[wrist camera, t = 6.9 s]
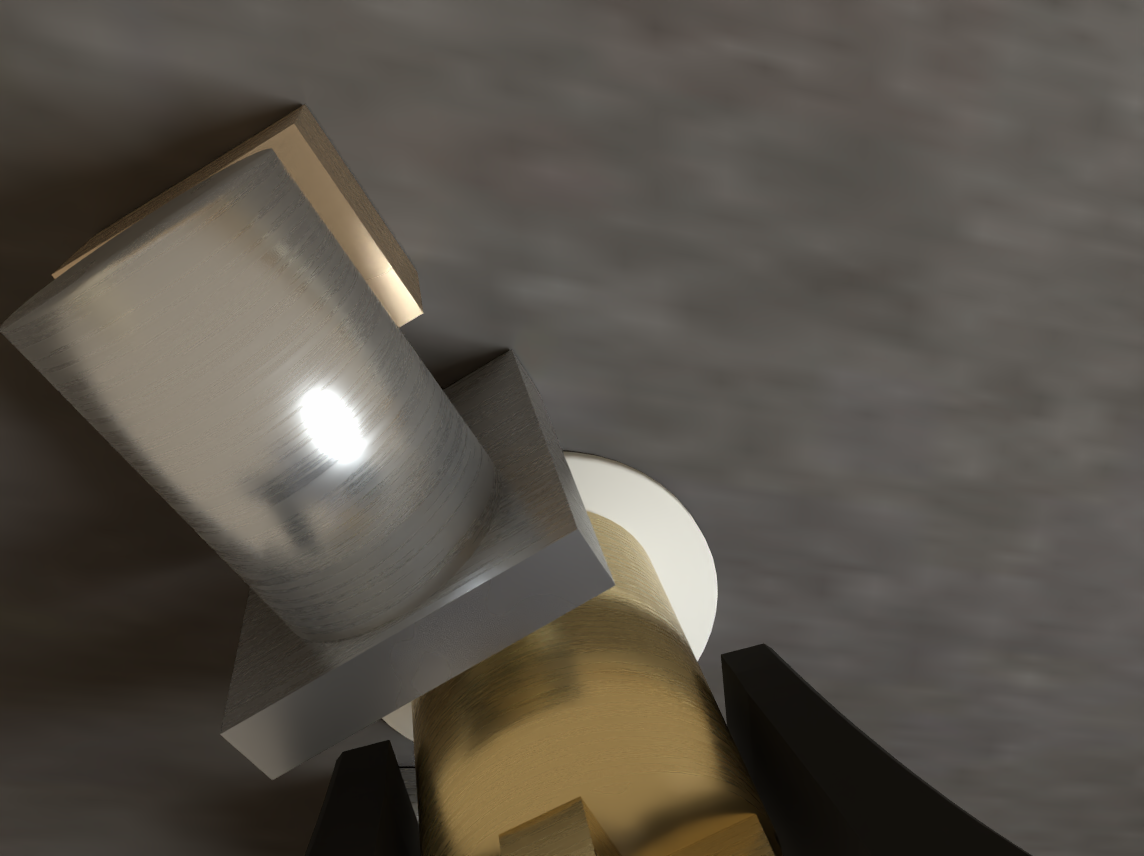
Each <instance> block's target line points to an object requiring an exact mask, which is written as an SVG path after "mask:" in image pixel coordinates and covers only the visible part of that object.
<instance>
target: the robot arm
mask: <svg viewBox="0 0 1144 856" xmlns="http://www.w3.org/2000/svg"><path fill="white" fill-rule="evenodd" d="M721 661H722V673H723V684H724V695H725V707H726V718H727V727H728V729H729V732H730V734H731V736H732V738H733V740H734V742H735V745H736V747H737V749H738V751H739V753H740V755H741V758H742V760H743V762H744V764H745V766H746V768H747V771H748V773H749V775H750V777H751V779H752V781H753V784H754V786H755V788H756V790H757V792H758V794H759V797H760V799H761V801H762V803H763V805H764V807H765V810H766V812H767V814H768V816H769V818H770V820H771V823H772V825H773V827H774V829H775V831H776V834H777V836H778V839H779V842H780V844H781V849H782V855H783V856H1032V855H1030V854H1029V853H1027V852H1026V851H1024V850H1023V849H1021V848H1019V847H1018V846H1016V845H1015V844H1013V843H1012V842H1010V841H1009V840H1007V839H1006V838H1004V837H1003V836H1001V835H1000V834H998V833H996V832H995V831H993V830H992V829H990V828H989V827H987V826H986V825H985V824H983V823H982V822H980V821H979V820H977V819H976V818H974V817H973V816H971V815H970V814H969V813H967V812H966V811H964V810H963V809H962V808H960V807H959V806H957V805H956V804H955V803H953V802H952V801H950V800H949V799H948V798H946V797H945V796H944V795H942V794H941V793H940V792H938V791H937V790H936V789H934V788H933V787H932V786H930V785H929V784H928V783H926V782H925V781H924V780H922V779H921V778H920V777H918V776H917V775H916V774H914V773H913V772H912V771H911V770H909V769H908V768H907V767H905V766H904V765H903V764H902V763H900V762H899V761H898V760H897V759H895V758H894V757H893V756H892V755H890V754H889V753H888V752H887V751H886V750H884V749H883V748H882V747H881V746H879V745H878V744H877V743H876V742H875V741H873V740H872V739H871V738H870V737H869V736H867V735H866V734H865V733H864V732H863V731H861V730H860V729H859V728H858V727H856V726H855V725H854V724H853V723H852V722H851V721H850V720H848V719H847V718H846V717H845V716H844V715H843V714H841V713H840V712H839V711H838V710H837V709H836V708H835V707H834V706H832V705H831V704H830V703H829V702H828V701H827V700H826V699H825V698H824V697H822V696H821V695H820V694H819V693H818V692H817V691H816V690H815V689H814V688H813V687H811V686H810V685H809V684H808V683H807V682H806V681H805V680H804V679H803V678H802V677H801V676H800V675H799V674H798V673H796V672H795V671H794V670H793V669H792V668H791V667H790V666H789V665H788V664H787V663H786V662H785V661H784V660H783V659H782V658H781V657H780V656H779V655H778V654H777V653H776V652H775V651H774V650H773V649H772V648H770V647H769V646H767V645H765V644H760V645H756V646H752V647H748V648H745V649H741V650H737V651H733V652H729V653H725V654H721ZM305 856H421V853H420V836H419V824H418V821H417V818H416V815H415V812H414V810H413V807H412V804H411V801H410V798H409V795H408V792H407V789H406V786H405V783H404V780H403V778H402V775H401V772H400V769H399V766H398V763H397V760H396V757H395V754H394V751H393V748H392V746H391V743H390V740H387V741H383V742H379V743H375V744H371V745H367V746H364V747H360V748H356V749H352V750H348V751H344V752H343V753H342V754H341V755H340V756H339V758H338V759H337V761H336V764H335V768H334V771H333V774H332V778H331V781H330V784H329V787H328V791H327V794H326V797H325V800H324V803H323V806H322V809H321V812H320V815H319V818H318V821H317V823H316V826H315V829H314V832H313V834H312V837H311V840H310V843H309V845H308V848H307V851H306V854H305Z"/></svg>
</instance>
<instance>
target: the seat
mask: <svg viewBox="0 0 1144 856" xmlns="http://www.w3.org/2000/svg"><path fill="white" fill-rule="evenodd" d="M563 453H564V456H565V458H566V461H567V463H568V466H569V468H570V471H571V474H572V476H573V479H574V481H575V484H576V486H577V489H578V491H579V494H580V496H581V499H582V501H583V504H584V506H585V509H586V511H588V512H592V513H595V514H598V515H600V516H603V517H605V518H607V519H609V520H611V521H613V522H615V523H616V524H618V525H620V526H621V527H623V528H624V529H625V530H627V531H628V532H629V533H630V534H631V535H632V536H634V537H635V539H636V540H637V541H638V542H639V543H640V544H641V545H642V547H643V548H644V550H645V551H646V553H647V555H648V556H649V558H650V560H651V562H652V564H653V567H654V569H655V571H656V573H657V575H658V577H659V580H660V582H661V584H662V586H663V588H664V590H665V593H666V595H667V597H668V599H669V601H670V603H671V606H672V608H673V610H674V612H675V614H676V616H677V619H678V621H679V623H680V625H681V627H682V629H683V632H684V634H685V636H686V638H687V640H688V643H689V645H690V647H691V649H692V651H693V653H694V656H695V658H696V660H697V661H698V660H699V658H700V656H701V654H702V652H703V651H704V648H705V646H706V643H707V641H708V638H709V636H710V633H711V630H712V626H713V622H714V618H715V614H716V606H717V596H718V591H717V575H716V571H715V566H714V562H713V557H712V554H711V552H710V550H709V547H708V545H707V542H706V540H705V538H704V536H703V534H702V533H701V531H700V529H699V528H698V526H697V524H696V523H695V521H694V519H693V518H692V516H691V515H690V513H689V511H688V510H687V509H686V508H685V507H684V506H683V505H682V503H681V502H680V501H679V500H678V499H677V498H676V496H674V495H673V494H672V493H671V492H670V491H668V490H667V489H666V488H665V487H664V486H663V485H661V484H660V483H659V482H657V481H656V480H654V479H652V478H651V477H649V476H647V475H646V474H644V473H643V472H641V471H639V470H637V469H634V468H632V467H630V466H627V465H625V464H623V463H620V462H618V461H614V460H610V459H607V458H603V457H600V456H596V455H590V454H583V453H577V452H564V451H563ZM382 719H383V720H384V721H385V722H386V723H387V724H388V725H390V726H391V727H392V728H394V729H395V730H396V731H398V732H399V733H400V734H402V735H403V736H405V737H406V738H408V739H410V740H412V741H414V738H413V722H412V705H411V702H409V703H407V704H406V705H404V706H402V707H400V708H399V709H397V710H395V711H393V712H392V713H390V714H388V715H386V716H385V717H383V718H382Z"/></svg>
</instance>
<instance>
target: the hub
mask: <svg viewBox="0 0 1144 856" xmlns="http://www.w3.org/2000/svg"><path fill="white" fill-rule="evenodd" d="M587 514H588V516H589V519H590V521H591V524H592V527H593V529H594V532H595V534H596V537H597V539H598V542H599V544H600V547H601V549H602V552H603V554H604V557H605V559H606V562H607V564H608V567H609V569H610V572H611V575H612V577H613V580H614V582H615V586H613V587H612V588H610V589H608V590H606V591H605V592H603V593H601V594H599V595H598V596H596V597H594V598H592V599H591V600H589V601H587V602H585V603H584V604H582V605H580V606H578V607H576V608H575V609H573V610H571V611H569V612H568V613H566V614H564V615H562V616H561V617H559V618H557V619H555V620H554V621H552V622H550V623H548V624H547V625H545V626H543V627H541V628H540V629H538V630H536V631H534V632H532V633H531V634H529V635H527V636H525V637H524V638H522V639H520V640H518V641H517V642H515V643H513V644H511V645H510V646H508V647H506V648H504V649H503V650H501V651H499V652H497V653H496V654H494V655H492V656H490V657H488V658H487V659H485V660H483V661H481V662H480V663H478V664H476V665H474V666H473V667H471V668H469V669H467V670H466V671H464V672H462V673H460V674H459V675H457V676H455V677H453V678H451V679H450V680H448V681H446V682H444V683H443V684H441V685H439V686H437V687H436V688H434V689H432V690H430V691H429V692H427V693H425V694H423V695H422V696H420V697H418V698H416V699H415V700H413V701H411V705H412V722H413V738H414V754H415V771H416V787H417V804H418V820H419V836H420V853H421V856H783V855H782V849H781V844H780V842H779V839H778V836H777V834H776V831H775V829H774V827H773V825H772V823H771V820H770V818H769V816H768V814H767V812H766V810H765V807H764V805H763V803H762V801H761V799H760V797H759V794H758V792H757V790H756V788H755V786H754V784H753V781H752V779H751V777H750V775H749V773H748V771H747V768H746V766H745V764H744V762H743V760H742V758H741V755H740V753H739V751H738V749H737V747H736V745H735V742H734V740H733V738H732V736H731V734H730V732H729V729H728V727H727V725H726V723H725V721H724V718H723V716H722V714H721V712H720V710H719V708H718V705H717V703H716V701H715V699H714V697H713V695H712V692H711V690H710V688H709V686H708V684H707V682H706V679H705V677H704V675H703V673H702V671H701V669H700V666H699V664H698V662H697V660H696V658H695V656H694V653H693V651H692V649H691V647H690V645H689V643H688V640H687V638H686V636H685V634H684V632H683V629H682V627H681V625H680V623H679V621H678V619H677V616H676V614H675V612H674V610H673V608H672V606H671V603H670V601H669V599H668V597H667V595H666V593H665V590H664V588H663V586H662V584H661V582H660V580H659V577H658V575H657V573H656V571H655V569H654V567H653V564H652V562H651V560H650V558H649V556H648V555H647V553H646V551H645V550H644V548H643V547H642V545H641V544H640V543H639V542H638V541H637V540H636V539H635V537H634V536H632V535H631V534H630V533H629V532H628V531H627V530H625V529H624V528H623V527H621V526H620V525H618V524H616V523H615V522H613V521H611V520H609V519H607V518H605V517H603V516H600V515H598V514H595V513H592V512H588V511H587Z"/></svg>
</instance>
